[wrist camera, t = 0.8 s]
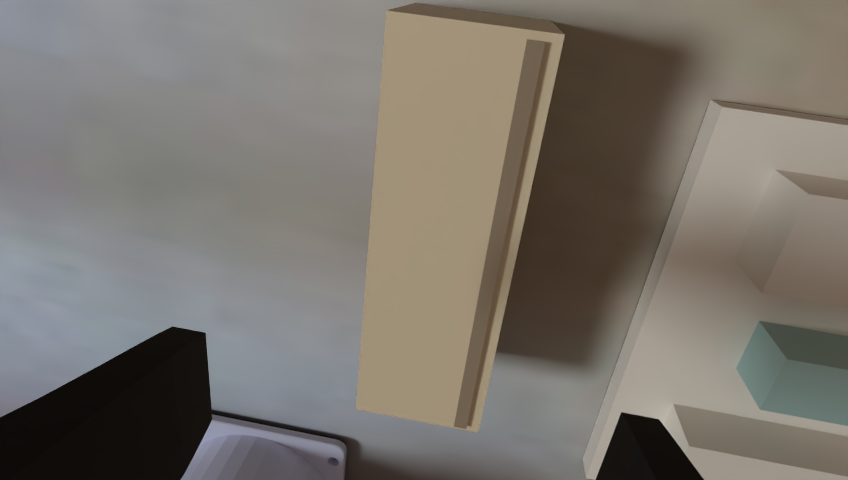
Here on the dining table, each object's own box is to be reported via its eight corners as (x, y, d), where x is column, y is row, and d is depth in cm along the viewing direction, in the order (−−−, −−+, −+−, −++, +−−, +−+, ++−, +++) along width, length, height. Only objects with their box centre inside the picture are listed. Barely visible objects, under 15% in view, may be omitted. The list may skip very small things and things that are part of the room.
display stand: (830, 507, 22) (875, 580, 19) (583, 458, 23) (592, 522, 20) (1073, 152, 15) (1194, 190, 13) (710, 99, 16) (750, 124, 13)
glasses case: (483, 346, 21) (478, 436, 17) (384, 329, 22) (354, 412, 17) (550, 20, 16) (565, 35, 12) (416, 2, 16) (385, 11, 12)
